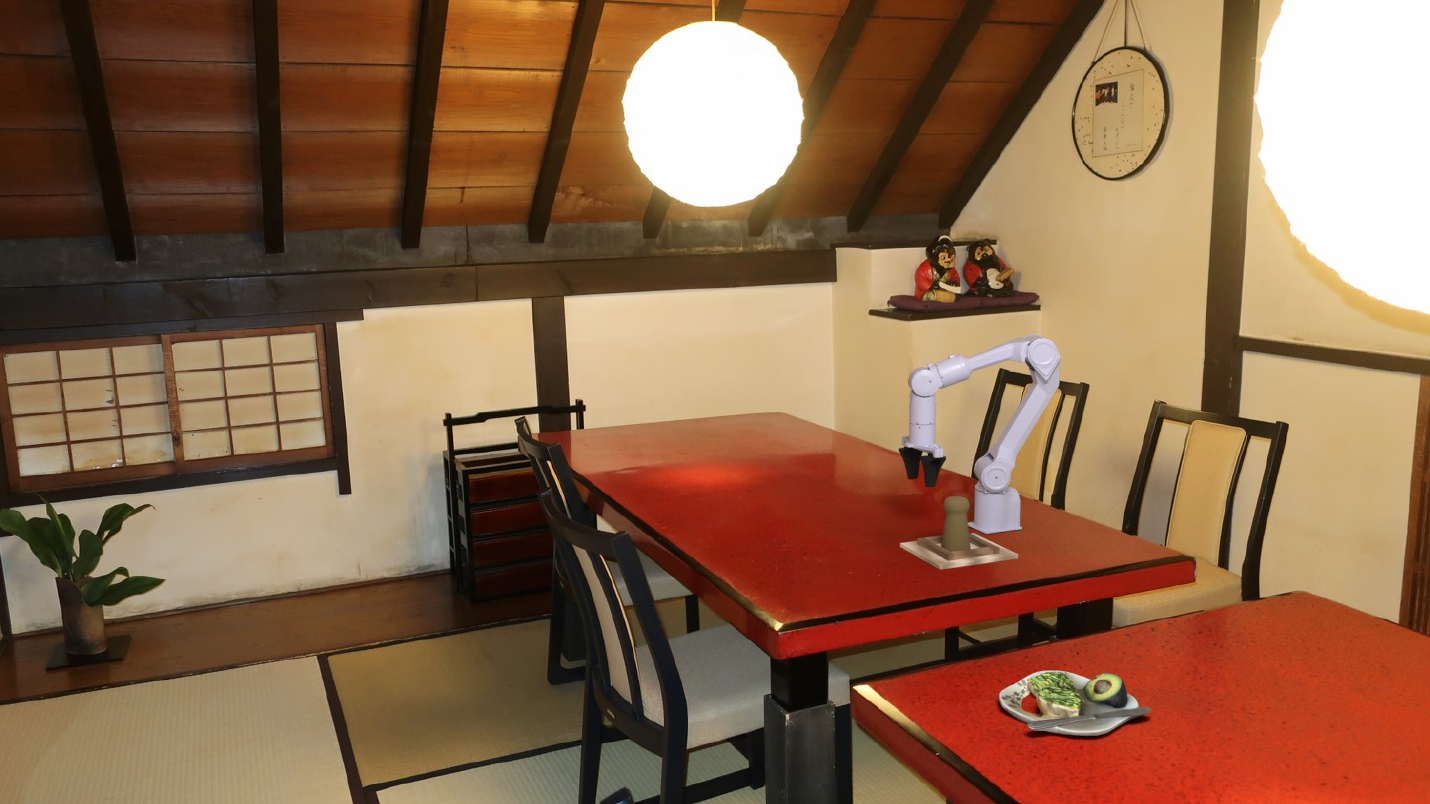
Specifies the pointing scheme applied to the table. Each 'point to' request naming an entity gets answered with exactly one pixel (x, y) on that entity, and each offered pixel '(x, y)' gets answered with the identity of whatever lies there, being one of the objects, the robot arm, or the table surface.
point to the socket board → (957, 552)
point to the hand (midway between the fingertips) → (921, 482)
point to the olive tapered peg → (956, 524)
